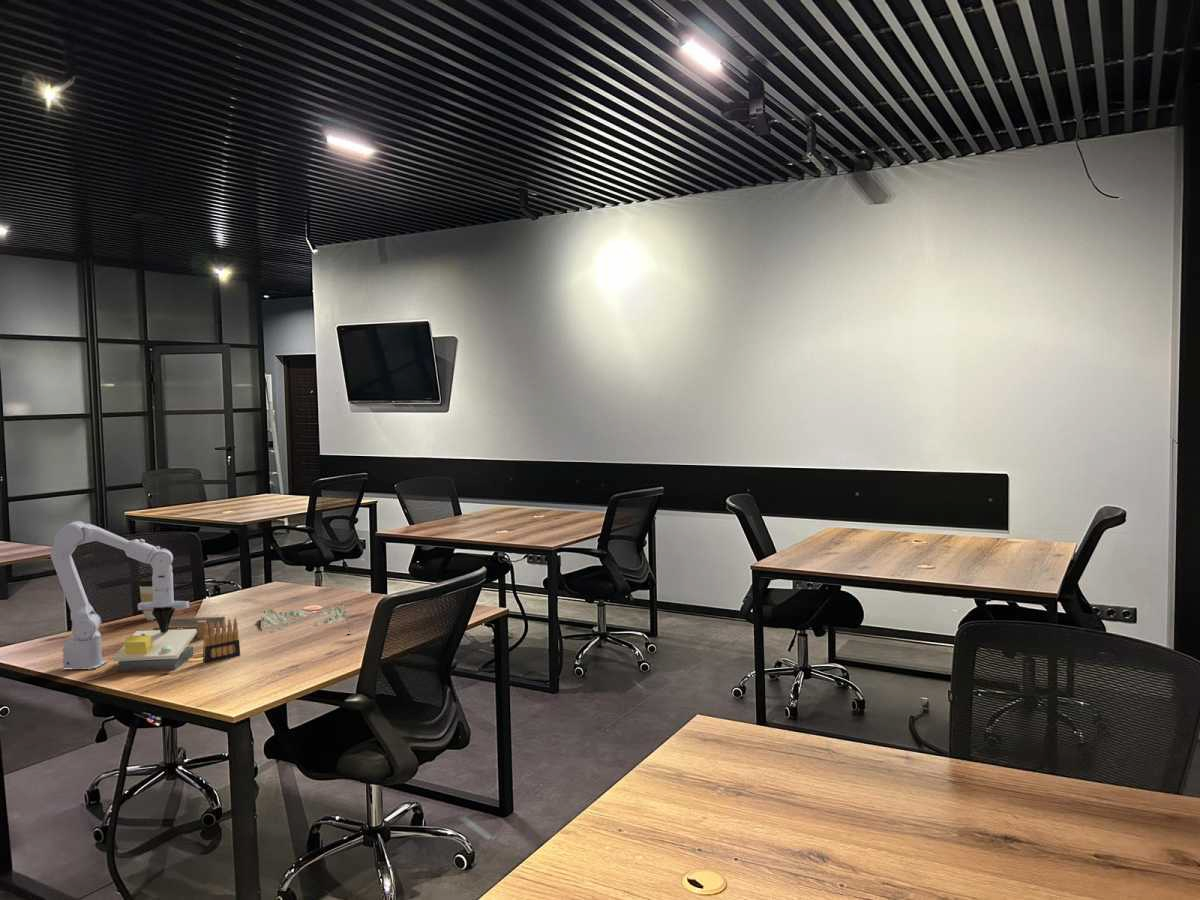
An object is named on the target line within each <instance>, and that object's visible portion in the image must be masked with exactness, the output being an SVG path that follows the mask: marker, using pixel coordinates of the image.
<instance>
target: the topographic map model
mask: <svg viewBox="0 0 1200 900" xmlns="http://www.w3.org/2000/svg"><path fill="white" fill-rule="evenodd" d="M321 611H322V613H320V614H318V616H322V615H326V614H329V615H328V616H329V617H327V618H326V619H325V620H324V621H323V623H328V624H331V623H332V622H335V621H337V622H339V621H342V620H347V621H348V615H347V612H346V611H347V610H346V607H345V602H342V603H341V604H340V605H339V606H338V607H333V606H331V607H330V608H326V609H322V610H321ZM323 611H325V612H323ZM312 613H314V612H313V611H309V610H308V611H306V610H304V609H303V610H298V609H292V610H289V611H286V612H283V611H280V613H279V612H277V611H276V610H273V609H267V610H262V611H261V620H260V630H261V629H262V628H263V627H265V626H271V625H277V624H278V623H284V624H283V626H288V625H291V624H289V623H291V622H288V621H295V620H290V619H287V618H286V617H296V618H299V617H305V616H308V615H306V614H312ZM339 613H342V614H341V615H340V614H339ZM330 614H331V615H336V614H339V615H336V616H335V618H331V617H330ZM315 617H316V616H315ZM323 617H326V616H323ZM319 618H321V617H319ZM296 621H297V620H296ZM320 624H322V622H320V623H319V622H315V624H314V625H312V626H319V625H320ZM278 630H284V629H283V628H279V629H278ZM278 630H274V629H272V630H271V631H269V632H270V633H275V632H278Z"/></svg>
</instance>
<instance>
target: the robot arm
mask: <svg viewBox="0 0 1200 900" xmlns="http://www.w3.org/2000/svg"><path fill="white" fill-rule="evenodd" d="M53 541H54V542H53V545H52V548H51V550H50V558H51V561H52V564H53V567H54V570H55V571H56V575H57V577H58V580H59V583H60V585H61V588H62V591H63V593H64V596H65V599H66V602H67V605H68V608H69V609H70V620H71V634H72V637H69V638H66V640H65V641H64V643H63V647H62V657H63V668H72V669H73V668H74V669H76V668H77V669H82V668H83V669H84V668H96V669H98V668H100V667H101V666H103V665H104V663H105V664H106V663H108V662H109V661H108V659H107V660H105V659H103V657H102V656H103V655H102V633H100V631H99V629H100V627H101V625H102V619H101V616H100V615H99V614H97V612H95V610H94V607H93V606H92V605H91V603H90V602H89V599H88V596H87V594H86V592H85V589H84V585H83V584H82V580H81V578H80V575H79V573H78V569H77V567H76V565H75V564H76V563H75V562H74V558H73V557H72V554H73V553H74V552H75V550H76V549H77V547H78V545H80V543H82V542H83V541H84V543H90V542H99V543H102V544H105V545H109V546H110V547H114V548H116V549H119V550H123V551H124V552H125V555H126V556H127V557H128V558H131V559H134V560H136V561H138V562H141V563H144V564H146V565H150V567H151V568H152V575H151V577H152V584H153V602H143V603H142V602H139V603H137V610H138V611H143V609H154V610H153V612H152V614H153V616H154V617H155V619H156V620H155V621H156V622H157V624H158V625H157V626H159V627H160V631H161V633H162V632H167V631H168V627H169V624H170V620H171V617H172V618H173V615H174V612H175V611H176V609H184V610H185V609H188V608H190V600H174V597H175V596H174V595H175V594H174V573H173V564H172V563H173V560H174V555H173V553H172V552H171V551H170V550H168V549H167V548H165V547H164V548H161V546H159V545H157V546H155V545H153V544H150V543H147V542H145V541H146V540H145V539H143V538H140V539H137V538H136V539H132V540H128V539H126V538H124V537H122V536H121V535H118V534H115V533H113V532H111V531H109V530H106V529H104V528H101V527H99V526H97V525H94V524H93V523H92V524H91V523H85V522H84V521H81V520H74V521H71V522H69V523H67V524H65V525H63V526H62V527H61V528H60V529H59V530H58V532H57V533H56V534H55V536H54V540H53ZM107 661H108V662H107ZM102 664H103V665H102ZM99 666H100V667H99ZM97 667H98V668H97Z"/></svg>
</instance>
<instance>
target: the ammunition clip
mask: <svg viewBox="0 0 1200 900" xmlns="http://www.w3.org/2000/svg"><path fill="white" fill-rule="evenodd" d="M232 624H233V625H232ZM226 626H227V627H226ZM202 649H203V650H202V651H203V652H202V653H203V654H202V662H203V663H205V664H208V663H212V661H213V662H217V660H218V661H222V660H226V658H227V659H230V657H232V658H236V657H235V656H237V657H241V646H240V639H239V628H238V620H237V619H236V617H235V618H234V619H233V623H232V620H231V619H230V618H229V619H228V621H227V625H226V620H225V621H224V620H223V622H222V629H220V624H219V622H218V621H217V624H216V629H214V625H213V622H212V623H211V626H210V637H209V630H208V625H207V623H206V624H205V628H204V638H203V648H202Z"/></svg>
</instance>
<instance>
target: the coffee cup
mask: <svg viewBox="0 0 1200 900" xmlns="http://www.w3.org/2000/svg"><path fill="white" fill-rule="evenodd" d="M137 585H138V587H139V591H140V592H139V595H140V601H141V602H140V603H143V602H153V584H152V576H149V577H144V578H140V580H139V582H138V583H137ZM153 610H154V609H142V611H143V616H144V619H145V618H147V619H155V617H154V616H153V614H152V612H153Z"/></svg>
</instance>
